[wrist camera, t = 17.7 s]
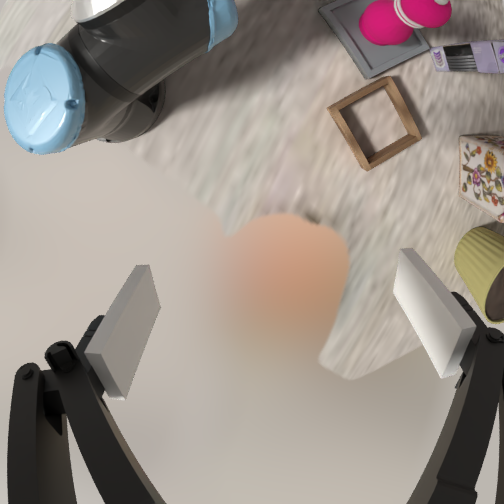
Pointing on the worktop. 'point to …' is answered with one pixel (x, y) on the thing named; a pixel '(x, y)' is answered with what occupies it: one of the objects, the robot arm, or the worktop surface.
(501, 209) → the decorative jar
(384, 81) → the tray
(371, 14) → the pepper mill
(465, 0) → the worktop surface
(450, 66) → the cake pan box
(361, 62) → the tray
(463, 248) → the potted cactus
